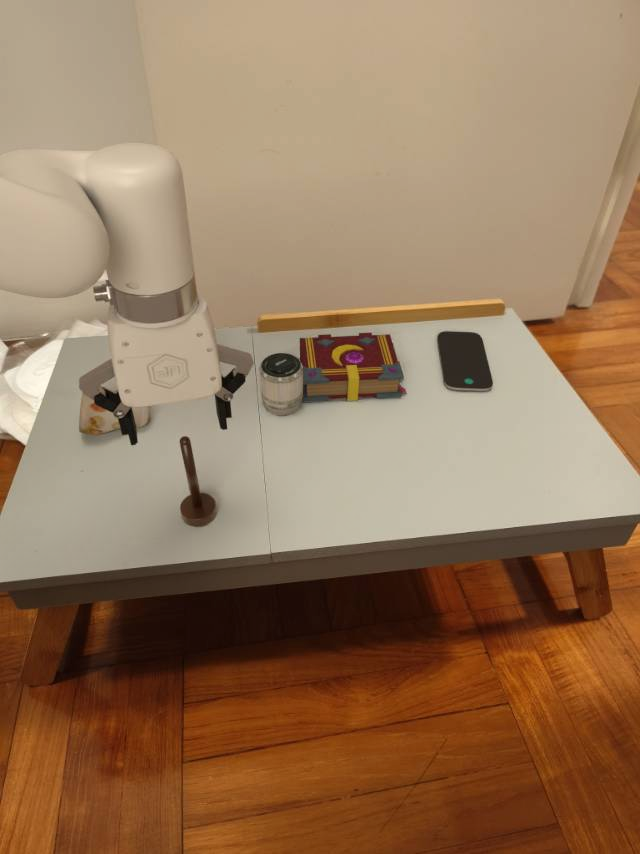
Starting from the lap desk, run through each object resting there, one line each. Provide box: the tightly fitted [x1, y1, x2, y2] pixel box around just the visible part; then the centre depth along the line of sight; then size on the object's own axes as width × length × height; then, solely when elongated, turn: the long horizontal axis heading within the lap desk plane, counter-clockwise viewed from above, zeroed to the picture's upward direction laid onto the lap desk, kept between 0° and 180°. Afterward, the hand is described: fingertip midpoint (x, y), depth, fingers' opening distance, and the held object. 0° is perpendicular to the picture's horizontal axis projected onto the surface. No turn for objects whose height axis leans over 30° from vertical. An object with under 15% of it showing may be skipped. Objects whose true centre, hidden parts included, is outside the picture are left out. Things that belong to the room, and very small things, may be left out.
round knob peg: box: [179, 435, 218, 528], centre depth 73 cm, size 4×4×14 cm
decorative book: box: [299, 332, 408, 403], centre depth 96 cm, size 11×16×5 cm
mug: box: [78, 385, 150, 436], centre depth 87 cm, size 8×10×10 cm
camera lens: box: [258, 352, 303, 416], centre depth 91 cm, size 6×6×8 cm
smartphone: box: [436, 330, 494, 392], centre depth 101 cm, size 8×1×15 cm
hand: (178, 428), depth 68 cm, fingers open, 9 cm apart
